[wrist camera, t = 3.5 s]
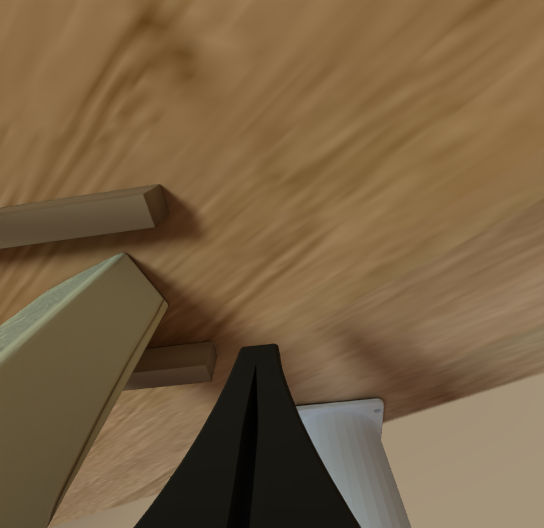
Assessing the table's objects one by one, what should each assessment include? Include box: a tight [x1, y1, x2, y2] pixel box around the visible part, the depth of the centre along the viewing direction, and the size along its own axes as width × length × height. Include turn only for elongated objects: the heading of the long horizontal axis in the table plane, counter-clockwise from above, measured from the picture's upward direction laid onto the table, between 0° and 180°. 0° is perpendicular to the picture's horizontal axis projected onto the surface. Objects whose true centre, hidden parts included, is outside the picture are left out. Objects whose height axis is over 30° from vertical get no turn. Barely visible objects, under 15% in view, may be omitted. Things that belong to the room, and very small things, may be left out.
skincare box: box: [0, 253, 168, 528], centre depth 11 cm, size 6×4×12 cm
